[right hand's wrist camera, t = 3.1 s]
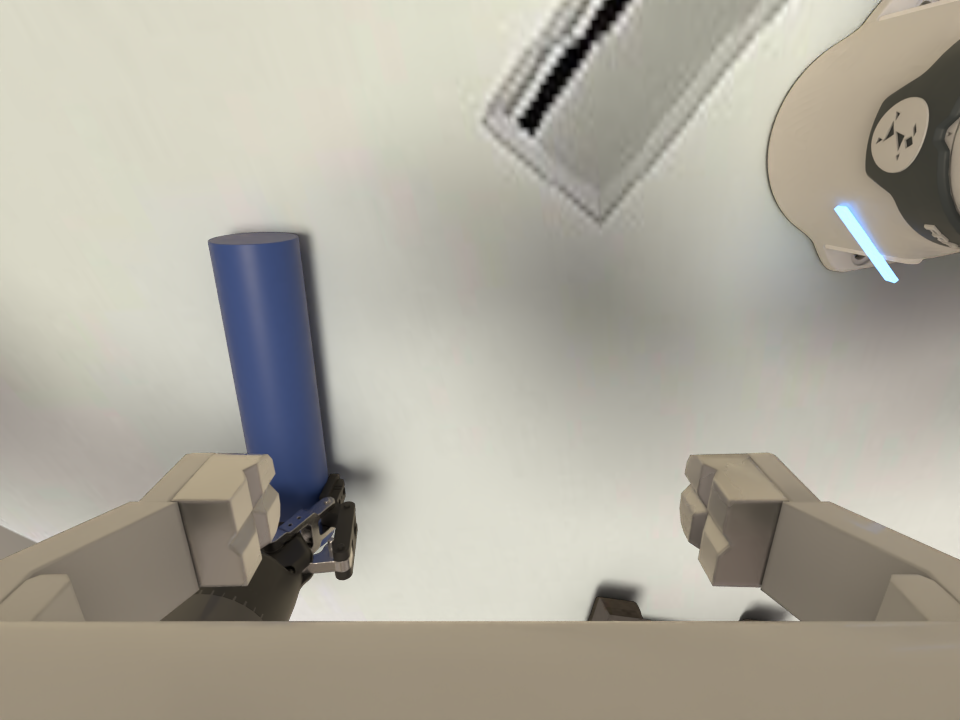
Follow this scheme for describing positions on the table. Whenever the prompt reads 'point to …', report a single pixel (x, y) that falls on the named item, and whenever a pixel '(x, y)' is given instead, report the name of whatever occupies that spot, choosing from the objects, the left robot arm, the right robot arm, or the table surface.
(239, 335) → the cylinder
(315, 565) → the left robot arm
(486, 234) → the table surface
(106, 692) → the right robot arm
